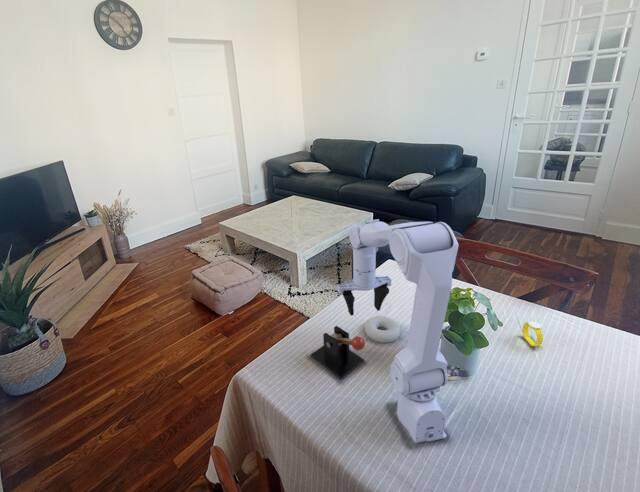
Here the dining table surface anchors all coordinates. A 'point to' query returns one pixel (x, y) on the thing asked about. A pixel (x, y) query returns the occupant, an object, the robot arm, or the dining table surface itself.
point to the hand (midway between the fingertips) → (364, 310)
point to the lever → (350, 341)
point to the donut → (382, 335)
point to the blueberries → (452, 372)
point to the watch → (537, 329)
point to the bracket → (337, 355)
